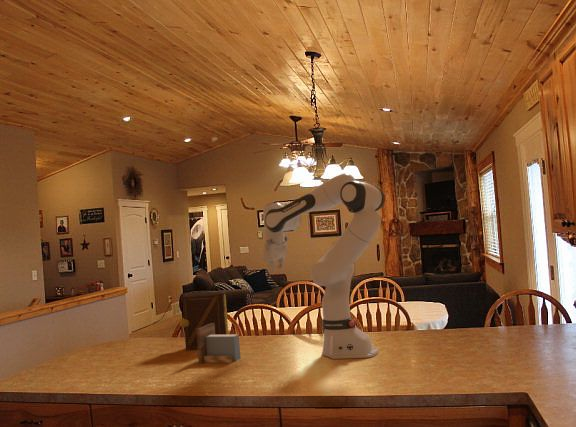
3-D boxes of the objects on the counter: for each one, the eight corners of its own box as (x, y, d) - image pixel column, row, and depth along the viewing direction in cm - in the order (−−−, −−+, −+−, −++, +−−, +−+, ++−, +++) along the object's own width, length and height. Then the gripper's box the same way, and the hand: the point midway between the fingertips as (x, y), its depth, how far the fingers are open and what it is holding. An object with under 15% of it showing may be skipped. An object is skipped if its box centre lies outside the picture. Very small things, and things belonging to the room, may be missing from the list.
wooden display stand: (242, 355, 225) (239, 322, 226) (228, 363, 213) (226, 328, 214) (213, 355, 230) (211, 322, 230) (198, 363, 218) (196, 329, 218)
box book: (240, 358, 221) (238, 334, 221) (235, 361, 217) (234, 336, 217) (212, 358, 225) (210, 334, 226) (207, 361, 221) (205, 336, 221)
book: (230, 344, 250) (226, 291, 250) (226, 348, 241) (222, 293, 242) (184, 347, 252) (181, 294, 252) (179, 351, 243) (175, 296, 244)
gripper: (272, 239, 230) (274, 271, 230) (288, 237, 250) (290, 267, 249) (259, 240, 233) (261, 272, 232) (276, 238, 252) (278, 267, 251)
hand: (276, 269), depth 241 cm, fingers open, 8 cm apart
